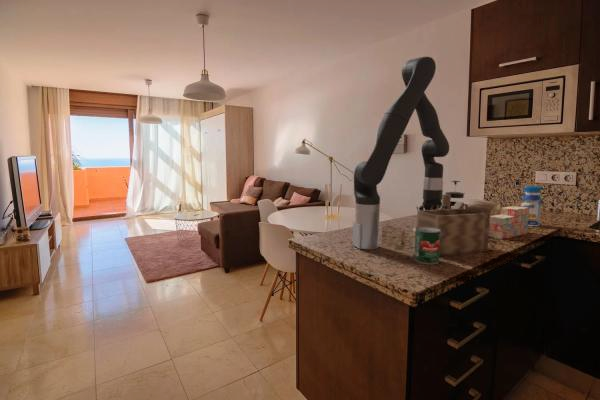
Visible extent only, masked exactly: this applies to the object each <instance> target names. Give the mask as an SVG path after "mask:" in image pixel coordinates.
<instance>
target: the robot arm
mask: <svg viewBox="0 0 600 400" xmlns="http://www.w3.org/2000/svg"><path fill="white" fill-rule="evenodd" d="M436 67H437V66H436V61H435V60H434V58H433V57H430V56H420V57H417V58H414V59H409V60H408V61H405V63H403V65H402V68H401V77H402V80H403V83H404V86H405V89H404V90H403V92H402V93H400V95H399V96H398V97H396V99H395V100H394V102H392V103H391V105H390V106H389V107H388V108H387V110H386V111H385V113H384V115H383V117H382V119H381V122H380V124H379V126H378V130H377V135H376V140H375V145H374V148H373V150H372V152H371V154H370V156H369V157H368V159H367V160H366V161H362V162H359V163H358V164H357V165H356V167H355V169H354V172H353V195H354V198H355V214H354V217H355V218H354V221H353V222H352V246H353V245H354V246H353V247H355V246H356V247H357V248H356V247H355V248H356V249H358V248H359V249H358V250H376V249H379V242H380V239H379V237H380V213H381V195H379V193H378V189H377V188H378V187H377V186H378V185H379V184H380V183H382V180H384V177H385V174H386V172H387V170H388V167H389V164H390V161H391V159H392V156H393V154H394V151H395V150H396V148H397V146H398V144H399V142H400V139H402V137H403V135H404V132H405V131H406V129H407V126H408V124H409V123H410V120H411V118H412V116H413V114H414V112H415V111H416V115H417V118H418V122H419V127H420V130H421V134H422V136H423V137H426V138H429V139H427V140H426V141H424V142H423V143H422V145H421V156H422V160H423V164H424V180H423V189H422V190H423V191H422V199H423V201H422V203H421V205H417V206H416V210H417V212H418V211H423V210H444V209H447V206H446V205H443V204H442V195H443V193H444V192H443V191H444V178H443V177H444V164H443V163H440V162H437V161H436V159H435V158H444V157H446V156H447V155H448V154H449V153H450V143H449V141H448V139H447V137H446V135H445V133H444V132H443V130H442V128H441V124H440V119H439V115H438V113H437V110H436V108H435V106H434V105H433V104H432V102H431V101H430V99H429V98H428V97H427V95H426V92H425V91H426V90H427V88H428V87H429V86H430V83H431V82H432V80H433V79H434V77H435V73H436Z"/></svg>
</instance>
